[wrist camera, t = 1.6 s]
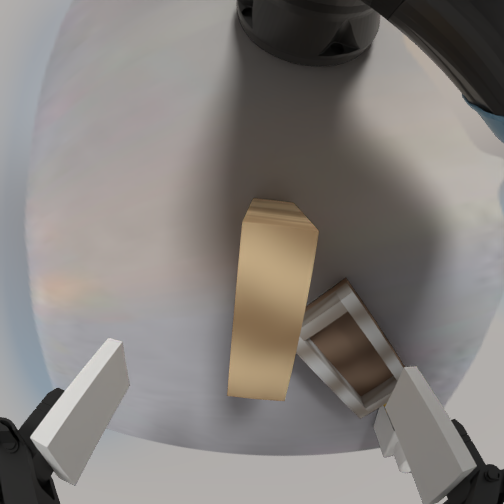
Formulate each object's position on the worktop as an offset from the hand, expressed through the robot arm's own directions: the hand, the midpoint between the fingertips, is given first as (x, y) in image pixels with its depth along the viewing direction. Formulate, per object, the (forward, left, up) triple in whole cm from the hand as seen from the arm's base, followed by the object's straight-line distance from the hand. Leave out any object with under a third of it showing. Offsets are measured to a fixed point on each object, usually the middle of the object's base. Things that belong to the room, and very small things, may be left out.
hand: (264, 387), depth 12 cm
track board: (+6, +15, -19) cm, 25 cm away
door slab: (0, 0, -19) cm, 19 cm away
